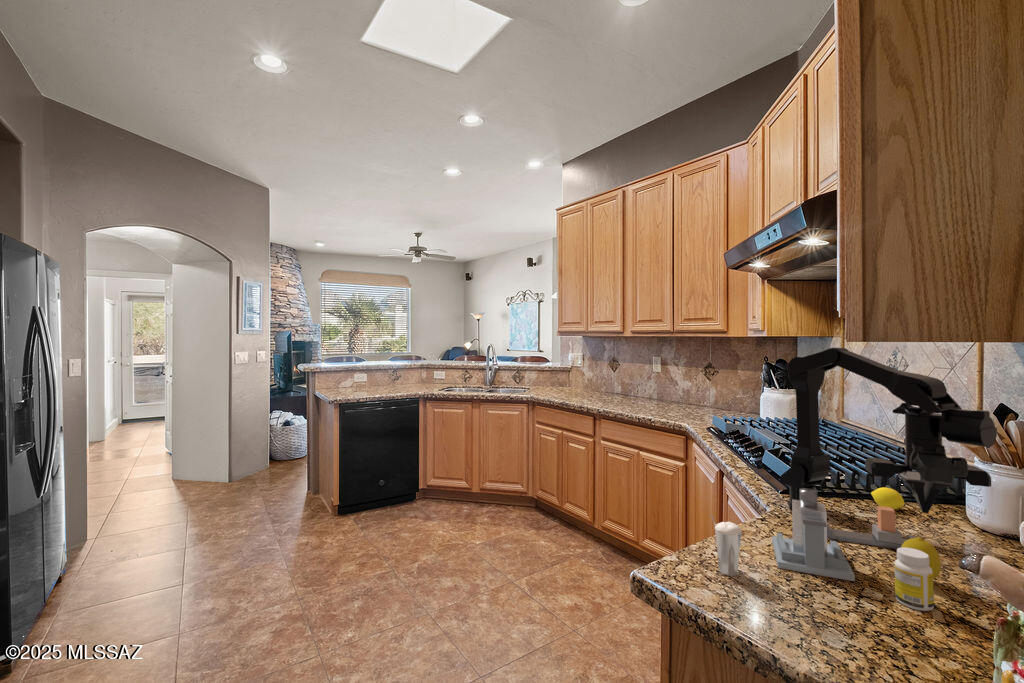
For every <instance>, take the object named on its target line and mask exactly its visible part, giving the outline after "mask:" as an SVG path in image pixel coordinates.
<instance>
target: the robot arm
mask: <svg viewBox="0 0 1024 683" xmlns="http://www.w3.org/2000/svg"><path fill="white" fill-rule="evenodd" d="M837 367H839V368H842V369H845V370H846V371H848V372H851V373H853V374H855V375H858V376H860V377H863V378H865V379H867V380H869V381H872V382H873V383H876V384H878V385H880V386H882V387H884V388H885V389H886V390H888V391H889V392H890V394H891V395H893V396H895V397H896V398H898V399H900V400H901V401H903V402H902V403H900V405H899V406H897V407H895V408H894V409H892V413H893V414H899V415H900V414H901V415H904V430H905V432H904V436H905V438H904V439H903V444H904V445H905V457H904V460H903V461H904V464H898V463H894V462H893V461H892V460H889V459H888V458H881V457H880V458H879V457H868V458H866V459H865V461H864V462H865V463H864V464H865V466H864V468H865V469H864V470H865V471H867V472H868V473H869V474H870V475H871V476H873V477H880V478H881V477H882V478H893V477H894V476H895V475H896V474H897V477H898V478H899V479H901V480H902V481H903V482H905V483H907V485H908V487H909V488H910V489H911V493H912V494H913V497H914V498H915V502H916V503H917V505H918V506H919V510H920V511H921V512H922V514H929V512H930V510H931V508H932V506H933V504H934V502H935V501H936V499H937V496H938V495H939V494H940V493H941V491H942V490H944V489H945V488H952V486H953V484H954V483H955V479H957V480H964V481H965V482H966V483H968V484H969V485H971V486H976V487H977V486H978V487H986V488H987V487H988V488H990V487H991V488H992V476H991V474H990V473H989V472H988V471H986V470H985V469H982V468H980V467H978V466H977V465H969V464H968V461H967V459H966V458H964V457H948V455H947V454H946V449H945V445H943V438H945V439H946V440H947V441H948V442H951V443H955V444H957V443H958V444H964V445H970V446H976V447H981V448H982V447H983V448H991V447H993V446H994V444H995V442H996V440H997V436H998V427H996V425H995V424H996V423H995V422H994V420H993V418H991V417H990V416H991V415H990V414H991V412H990V411H989V410H982V409H980V410H979V409H978V410H974V409H973V410H972V409H963V408H962V407H961V406H960V405H959V404H958V403H957V401H956V400H955V399H954V398H953V397H952V396H951V395H950V394H949V393H948V391H947V387H946V385H945V383H944V382H943V381H942V380H941V379H939V378H936V377H932V376H929V375H924V374H920V373H915V372H910V371H902V370H898V369H896V368H893V367H890V366H888V365H885V364H884V363H880V362H879V361H876V360H872V359H871V358H867V357H865V356H863V355H861V354H858V353H856V352H852V350H851V351H850V350H849V349H847V348H845V347H829V348H827V349H825V350H822V351H819V352H816V353H812V354H809V355H806V356H795V357H793V358H791V359H790V361H788V362H787V365H786V370H787V374H788V375H787V377H788V380H789V382H790V383H791V385H792V387H793V389H794V392H795V404H796V405H795V406H796V407H795V408H796V409H795V410H796V411H795V412H796V413H795V414H796V440H797V441H796V442H797V444H796V447H795V449H794V451H793V453H792V455H791V460H790V466H789V468H788V469H787V470H786V471H785V472H783V473H782V474H781V475H780V479H781V481H782V482H781V483H782V484H783V485H786V486H789V500H786V505H787V506H788V508H789V510H791V511H792V499H793V500H800V491H799V489H801V488H808V489H813V490H816V486H820V485H823V482H824V480H825V479H826V478H827V477H828V476H829V474H830V471H832V467H831V455H830V454H829V453H827V454H825V453H824V451H823V450H822V447H821V444H820V443H821V439H820V436H821V435H820V414H819V413H820V409H819V408H820V407H819V390H820V388H821V386H822V385H823V383H824V382H825V381H824V380H825V376H826V375H825V374H826V372H828V371H831V370H833V369H835V368H837Z"/></svg>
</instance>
